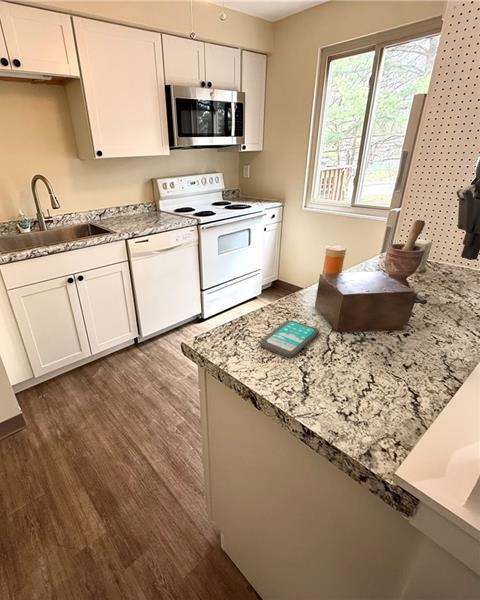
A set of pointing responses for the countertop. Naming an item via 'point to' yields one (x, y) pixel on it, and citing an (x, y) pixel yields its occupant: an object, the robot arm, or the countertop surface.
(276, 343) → the smartphone
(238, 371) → the countertop surface
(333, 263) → the spice jar
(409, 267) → the mortar and pestle
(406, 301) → the cabinet
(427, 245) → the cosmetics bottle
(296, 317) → the countertop surface
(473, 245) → the robot arm
